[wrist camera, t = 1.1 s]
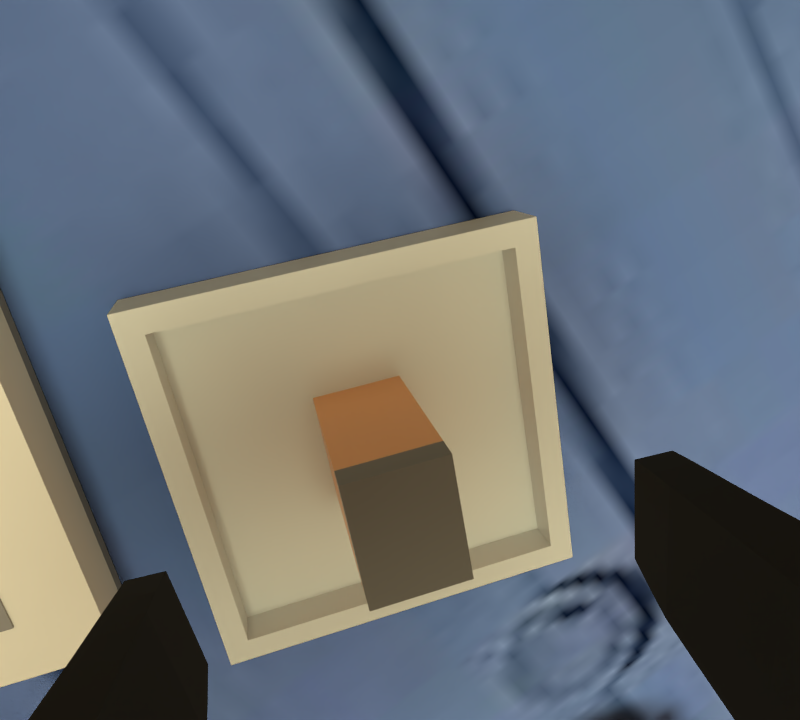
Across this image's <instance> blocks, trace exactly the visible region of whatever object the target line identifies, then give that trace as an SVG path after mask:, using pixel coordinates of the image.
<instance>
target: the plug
mask: <svg viewBox="0 0 800 720" xmlns="http://www.w3.org/2000/svg"><path fill="white" fill-rule="evenodd" d="M313 401H314V405H315V409H316V413H317V417H318V421H319V425H320V429H321V433H322V437H323V441H324V445H325V449H326V453H327V457H328V461H329V465H330V469H331V473H332V477H333V481H334V485H335V489H336V493H337V497H338V501H339V504H340V508H341V511H342V515H343V519H344V522H345V526H346V529H347V533H348V536H349V540H350V543H351V547H352V551H353V554H354V558H355V561H356V565H357V568H358V572H359V575H360V579H361V583H362V586H363V590H364V593H365V597H366V600H367V604H368V608H369V611H373V610H377V609H380V608H383V607H386V606H389V605H392V604H396V603H399V602H402V601H405V600H408V599H412V598H415V597H418V596H421V595H424V594H427V593H431V592H434V591H437V590H440V589H443V588H447V587H450V586H453V585H456V584H459V583H462V582H466V581H469V580H472V579H474V577H473V571H472V565H471V560H470V554H469V548H468V542H467V536H466V531H465V525H464V519H463V513H462V508H461V502H460V496H459V490H458V485H457V479H456V473H455V467H454V462H453V456H452V453H451V451H450V450H449V448H448V447H447V446H446V444H445V443H444V441H443V440H442V438H441V437H440V435H439V434H438V432H437V431H436V429H435V428H434V426H433V425H432V423H431V422H430V420H429V419H428V417H427V416H426V415H425V413H424V412H423V410H422V409H421V407H420V406H419V404H418V403H417V401H416V400H415V398H414V397H413V395H412V394H411V392H410V391H409V389H408V388H407V386H406V385H405V384H404V382H403V381H402V379H401V378H400V376H396V377H392V378H388V379H384V380H380V381H377V382H373V383H369V384H365V385H361V386H357V387H354V388H350V389H346V390H342V391H338V392H334V393H330V394H327V395H323V396H319V397H315V398H313Z"/></svg>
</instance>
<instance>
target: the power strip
mask: <svg viewBox="0 0 800 720" xmlns="http://www.w3.org/2000/svg"><path fill="white" fill-rule="evenodd" d="M120 587H121V582H120V580H119V577H118V575H117V572H116V570H115V568H114V565H113V563H112V560H111V558H110V555H109V553H108V550H107V548H106V546H105V543H104V541H103V538H102V536H101V533H100V531H99V528H98V526H97V524H96V521H95V519H94V516H93V514H92V511H91V509H90V506H89V504H88V502H87V499H86V497H85V494H84V492H83V489H82V487H81V484H80V482H79V480H78V477H77V475H76V472H75V470H74V467H73V465H72V462H71V460H70V458H69V455H68V453H67V450H66V448H65V445H64V443H63V441H62V438H61V436H60V433H59V431H58V428H57V426H56V423H55V421H54V419H53V416H52V414H51V411H50V409H49V406H48V404H47V401H46V399H45V397H44V394H43V392H42V389H41V387H40V384H39V382H38V379H37V377H36V375H35V372H34V370H33V367H32V365H31V362H30V360H29V357H28V355H27V353H26V350H25V348H24V345H23V343H22V340H21V338H20V335H19V333H18V331H17V328H16V326H15V323H14V321H13V318H12V316H11V313H10V311H9V309H8V306H7V304H6V301H5V299H4V296H3V294H2V292H1V289H0V687H3V686H6V685H10V684H13V683H16V682H19V681H23V680H26V679H29V678H33V677H36V676H39V675H42V674H46V673H49V672H52V671H55V670H59V669H62V668H65V667H66V666H67V664H68V663H69V661H70V660H71V658H72V657H73V655H74V654H75V652H76V651H77V649H78V648H79V647H80V645H81V644H82V642H83V641H84V639H85V638H86V636H87V635H88V633H89V632H90V630H91V629H92V627H93V626H94V624H95V623H96V622H97V620H98V619H99V617H100V616H101V614H102V613H103V611H104V610H105V608H106V607H107V606H108V604H109V603H110V601H111V600H112V598H113V597H114V595H115V594H116V593H117V591H118V590H119V588H120Z"/></svg>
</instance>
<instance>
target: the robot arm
mask: <svg viewBox="0 0 800 720" xmlns="http://www.w3.org/2000/svg"><path fill="white" fill-rule="evenodd" d="M635 560H636V562H637V564H638V566H639V568H640V570H641V572H642V574H643V576H644V578H645V580H646V582H647V584H648V585H649V587H650V589H651V591H652V593H653V595H654V597H655V599H656V601H657V603H658V604H659V606H660V608H661V610H662V612H663V614H664V616H665V618H666V619H667V621H668V622H669V624H670V625H671V627H672V628H673V630H674V631H675V633H676V634H677V636H678V637H679V639H680V640H681V642H682V643H683V645H684V646H685V648H686V649H687V651H688V652H689V654H690V655H691V657H692V658H693V660H694V661H695V663H696V664H697V665H698V667H699V668H700V670H701V671H702V673H703V674H704V676H705V677H706V679H707V680H708V682H709V683H710V684H711V686H712V687H713V689H714V690H715V692H716V693H717V695H718V696H719V698H720V699H721V701H722V702H723V703H724V705H725V706H726V708H727V709H728V711H729V712H730V714H731V715H732V717H733V718H734V720H800V520H798V519H796V518H794V517H792V516H790V515H789V514H787V513H785V512H783V511H781V510H779V509H777V508H776V507H774V506H772V505H770V504H768V503H766V502H765V501H763V500H761V499H759V498H757V497H755V496H754V495H752V494H750V493H748V492H747V491H745V490H743V489H741V488H739V487H738V486H736V485H734V484H732V483H730V482H729V481H727V480H725V479H723V478H721V477H720V476H718V475H716V474H714V473H713V472H711V471H709V470H707V469H705V468H704V467H702V466H700V465H698V464H696V463H695V462H693V461H691V460H689V459H687V458H686V457H684V456H682V455H680V454H678V453H676V452H674V451H669V452H665V453H661V454H657V455H652V456H648V457H644V458H640V459H636V460H635ZM207 704H208V663H207V661H206V659H205V657H204V654H203V652H202V650H201V648H200V646H199V643H198V641H197V639H196V637H195V634H194V632H193V630H192V628H191V626H190V623H189V621H188V619H187V617H186V614H185V612H184V610H183V608H182V606H181V603H180V601H179V599H178V597H177V594H176V592H175V590H174V588H173V586H172V583H171V581H170V579H169V577H168V574H167V572H166V571H165V572H160V573H156V574H152V575H148V576H144V577H139V578H135V579H131V580H127V581H124V583H123V584H122V585H121V587H120V588H119V590H118V591H117V593H116V594H115V595H114V597H113V598H112V600H111V601H110V603H109V604H108V606H107V607H106V608H105V610H104V611H103V613H102V614H101V616H100V617H99V619H98V620H97V622H96V623H95V624H94V626H93V627H92V629H91V630H90V632H89V633H88V635H87V636H86V638H85V639H84V641H83V642H82V644H81V645H80V647H79V648H78V649H77V651H76V652H75V654H74V655H73V657H72V658H71V660H70V661H69V663H68V664H67V666H66V667H65V668H64V670H63V671H62V673H61V674H60V676H59V677H58V678H57V680H56V681H55V683H54V684H53V686H52V687H51V688H50V690H49V691H48V693H47V694H46V695H45V697H44V698H43V700H42V701H41V703H40V704H39V705H38V707H37V708H36V710H35V711H34V712H33V714H32V715H31V717H30V718H29V720H207Z"/></svg>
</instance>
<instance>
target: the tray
mask: <svg viewBox="0 0 800 720" xmlns="http://www.w3.org/2000/svg"><path fill="white" fill-rule="evenodd" d="M107 317H108V319H109V322H110V325H111V328H112V331H113V334H114V336H115V339H116V342H117V345H118V348H119V350H120V353H121V356H122V359H123V362H124V364H125V367H126V370H127V373H128V376H129V379H130V381H131V384H132V387H133V390H134V393H135V395H136V398H137V401H138V404H139V407H140V410H141V412H142V415H143V418H144V421H145V424H146V426H147V429H148V432H149V435H150V438H151V441H152V443H153V446H154V449H155V452H156V455H157V457H158V460H159V463H160V466H161V469H162V471H163V474H164V477H165V480H166V483H167V486H168V488H169V491H170V494H171V497H172V500H173V502H174V505H175V508H176V511H177V514H178V517H179V519H180V522H181V525H182V528H183V531H184V533H185V536H186V539H187V542H188V545H189V547H190V550H191V553H192V556H193V559H194V562H195V564H196V567H197V570H198V573H199V576H200V578H201V581H202V584H203V587H204V590H205V593H206V595H207V598H208V601H209V604H210V607H211V609H212V612H213V615H214V618H215V621H216V624H217V626H218V629H219V632H220V635H221V638H222V640H223V643H224V646H225V649H226V652H227V654H228V657H229V660H230V663H231V665H233V664H236V663H240V662H243V661H246V660H249V659H252V658H255V657H259V656H262V655H265V654H268V653H271V652H274V651H278V650H281V649H284V648H287V647H290V646H293V645H297V644H300V643H303V642H306V641H309V640H312V639H315V638H319V637H322V636H325V635H328V634H331V633H334V632H338V631H341V630H344V629H347V628H350V627H353V626H357V625H360V624H363V623H366V622H369V621H372V620H375V619H379V618H382V617H385V616H388V615H391V614H394V613H398V612H401V611H404V610H407V609H410V608H413V607H417V606H420V605H423V604H426V603H429V602H432V601H435V600H439V599H442V598H445V597H448V596H451V595H454V594H458V593H461V592H464V591H467V590H470V589H473V588H477V587H480V586H483V585H486V584H489V583H492V582H495V581H499V580H502V579H505V578H508V577H511V576H514V575H518V574H521V573H524V572H527V571H530V570H533V569H537V568H540V567H543V566H546V565H549V564H552V563H555V562H559V561H562V560H565V559H568V558H571V557H572V547H571V538H570V529H569V519H568V510H567V500H566V491H565V482H564V472H563V463H562V453H561V444H560V435H559V425H558V416H557V406H556V397H555V387H554V378H553V369H552V359H551V350H550V340H549V331H548V322H547V312H546V303H545V293H544V284H543V275H542V265H541V256H540V246H539V237H538V228H537V218H536V216H533V215H529V214H525V213H522V212H518V211H509V212H505V213H500V214H496V215H491V216H487V217H483V218H478V219H474V220H469V221H465V222H461V223H456V224H452V225H447V226H443V227H438V228H434V229H430V230H425V231H421V232H416V233H412V234H408V235H403V236H399V237H394V238H390V239H386V240H381V241H377V242H372V243H368V244H363V245H359V246H355V247H350V248H346V249H341V250H337V251H333V252H328V253H324V254H319V255H315V256H310V257H306V258H302V259H297V260H293V261H288V262H284V263H280V264H275V265H271V266H266V267H262V268H258V269H253V270H249V271H244V272H240V273H235V274H231V275H227V276H222V277H218V278H213V279H209V280H205V281H200V282H196V283H191V284H187V285H182V286H178V287H174V288H169V289H165V290H160V291H156V292H152V293H147V294H143V295H138V296H134V297H130V298H125V299H121V300H117V302H116V303H115V304H114V306H113V307H112V309H111V310H110V311H109V313H108V314H107ZM396 376H400V378H401V379H402V381H403V382H404V384H405V385H406V386H407V388H408V389H409V391H410V392H411V394H412V395H413V397H414V398H415V400H416V401H417V403H418V404H419V406H420V407H421V409H422V410H423V412H424V413H425V415H426V416H427V417H428V419H429V420H430V422H431V423H432V425H433V426H434V428H435V429H436V431H437V432H438V434H439V435H440V437H441V438H442V440H443V441H444V443H445V444H446V446H447V447H448V448H449V450H450V451H451V453H452V456H453V462H454V467H455V473H456V479H457V485H458V490H459V496H460V502H461V508H462V513H463V519H464V525H465V531H466V536H467V542H468V548H469V554H470V560H471V565H472V571H473V577H474V579H472V580H469V581H466V582H462V583H459V584H456V585H453V586H450V587H447V588H443V589H440V590H437V591H434V592H431V593H427V594H424V595H421V596H418V597H415V598H412V599H408V600H405V601H402V602H399V603H396V604H392V605H389V606H386V607H383V608H380V609H377V610H373V611H369V608H368V604H367V600H366V597H365V593H364V590H363V586H362V583H361V579H360V575H359V572H358V568H357V565H356V561H355V558H354V554H353V551H352V547H351V543H350V540H349V536H348V533H347V529H346V526H345V522H344V519H343V515H342V511H341V508H340V504H339V501H338V497H337V493H336V489H335V485H334V481H333V477H332V473H331V469H330V465H329V461H328V457H327V453H326V449H325V445H324V441H323V437H322V433H321V429H320V425H319V421H318V417H317V413H316V409H315V405H314V401H313V398H315V397H319V396H323V395H327V394H330V393H334V392H338V391H342V390H346V389H350V388H354V387H357V386H361V385H365V384H369V383H373V382H377V381H380V380H384V379H388V378H392V377H396Z"/></svg>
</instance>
